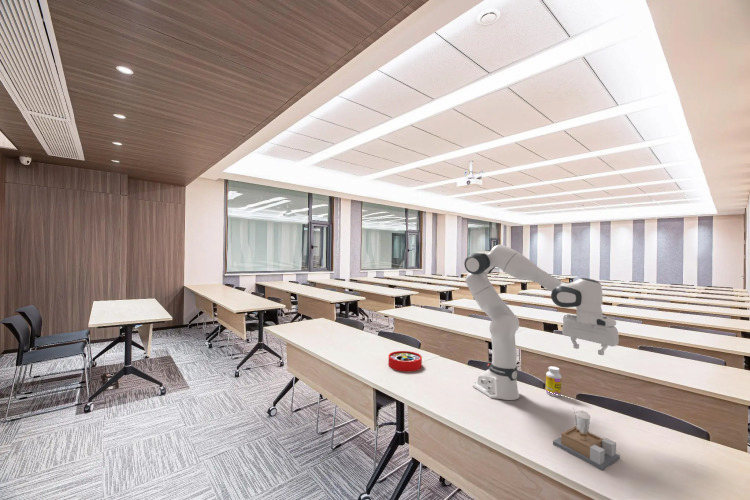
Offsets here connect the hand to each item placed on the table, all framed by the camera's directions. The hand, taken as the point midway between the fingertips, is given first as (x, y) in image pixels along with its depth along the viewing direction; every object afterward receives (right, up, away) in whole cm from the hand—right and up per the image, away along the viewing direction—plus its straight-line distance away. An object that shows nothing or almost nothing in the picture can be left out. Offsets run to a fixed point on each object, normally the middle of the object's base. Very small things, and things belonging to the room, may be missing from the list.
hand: (588, 351), depth 133 cm
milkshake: (-15, -25, -19) cm, 35 cm away
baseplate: (-14, -29, -20) cm, 38 cm away
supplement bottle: (0, -29, +26) cm, 39 cm away
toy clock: (-70, -28, +62) cm, 97 cm away
